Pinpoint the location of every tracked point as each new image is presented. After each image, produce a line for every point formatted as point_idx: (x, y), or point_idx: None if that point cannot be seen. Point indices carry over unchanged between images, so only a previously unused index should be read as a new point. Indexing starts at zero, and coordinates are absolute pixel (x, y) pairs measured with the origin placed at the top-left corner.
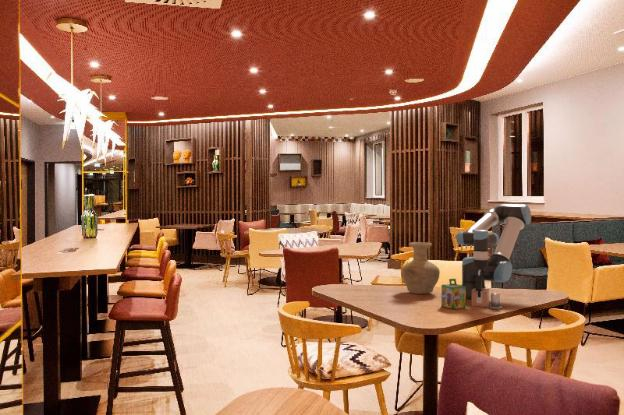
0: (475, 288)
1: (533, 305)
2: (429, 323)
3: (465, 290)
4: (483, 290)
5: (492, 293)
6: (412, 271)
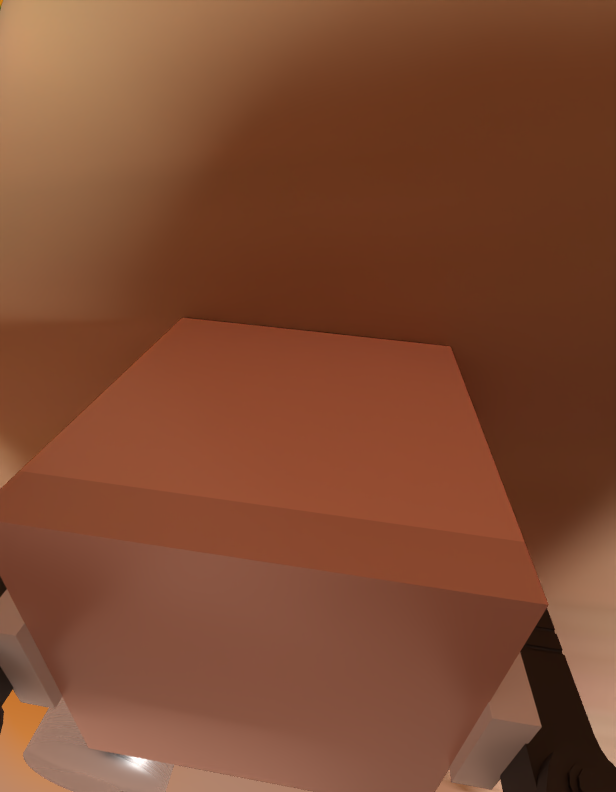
0: (498, 639)
1: (449, 776)
2: None
3: None
4: (210, 727)
5: (83, 757)
6: None
